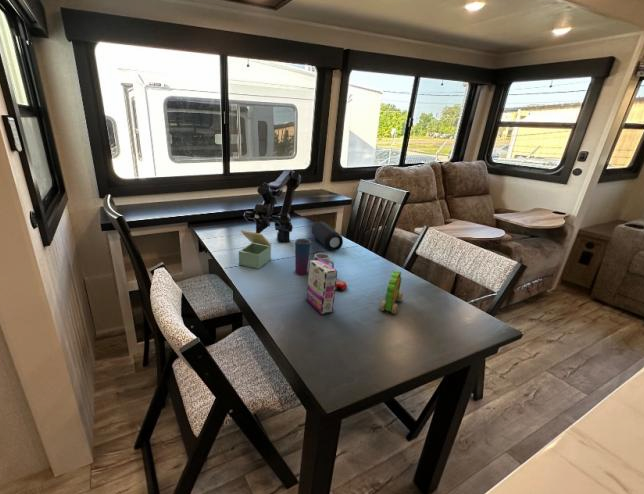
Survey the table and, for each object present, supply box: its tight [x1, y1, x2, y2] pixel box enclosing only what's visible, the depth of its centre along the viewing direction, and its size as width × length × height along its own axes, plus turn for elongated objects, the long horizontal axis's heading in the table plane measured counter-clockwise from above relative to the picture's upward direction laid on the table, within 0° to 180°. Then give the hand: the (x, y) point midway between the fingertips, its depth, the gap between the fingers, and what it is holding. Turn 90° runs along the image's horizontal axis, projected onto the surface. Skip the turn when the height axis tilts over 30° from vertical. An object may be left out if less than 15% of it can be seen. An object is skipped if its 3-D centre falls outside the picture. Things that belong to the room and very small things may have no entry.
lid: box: [240, 230, 272, 247], centre depth 146 cm, size 13×11×1 cm
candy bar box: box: [306, 259, 338, 315], centre depth 111 cm, size 11×5×16 cm, turn 23°
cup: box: [294, 238, 312, 276], centre depth 137 cm, size 7×7×15 cm
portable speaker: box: [311, 221, 344, 251], centre depth 173 cm, size 26×10×10 cm, turn 13°
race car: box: [335, 278, 348, 292], centre depth 128 cm, size 13×5×4 cm, turn 63°
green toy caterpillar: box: [379, 269, 404, 315], centre depth 112 cm, size 16×5×15 cm, turn 148°
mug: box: [313, 252, 335, 269], centre depth 141 cm, size 10×7×7 cm
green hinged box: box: [238, 242, 272, 270], centre depth 148 cm, size 13×11×7 cm
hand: (257, 234), depth 146 cm, fingers closed
